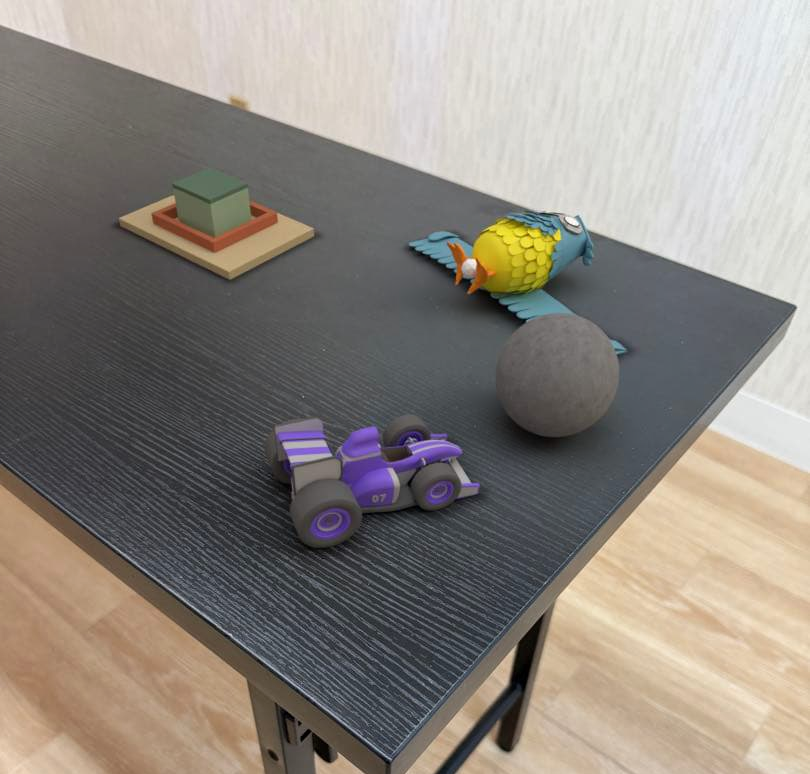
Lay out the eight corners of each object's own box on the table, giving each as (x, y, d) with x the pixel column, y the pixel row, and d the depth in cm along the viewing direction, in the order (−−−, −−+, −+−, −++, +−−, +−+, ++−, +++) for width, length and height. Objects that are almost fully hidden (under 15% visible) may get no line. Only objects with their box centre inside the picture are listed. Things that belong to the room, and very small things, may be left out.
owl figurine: (382, 175, 82) (495, 148, 89) (380, 255, 89) (486, 225, 95) (570, 297, 67) (690, 254, 74) (551, 383, 74) (663, 337, 80)
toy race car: (486, 507, 63) (496, 443, 58) (300, 556, 58) (294, 491, 54) (438, 432, 68) (444, 368, 64) (266, 472, 64) (258, 407, 60)
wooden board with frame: (120, 226, 92) (115, 207, 90) (206, 189, 99) (203, 171, 97) (229, 280, 84) (227, 260, 83) (314, 236, 91) (313, 217, 90)
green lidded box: (178, 223, 91) (171, 183, 87) (215, 206, 94) (209, 167, 90) (215, 240, 88) (209, 199, 85) (252, 223, 91) (247, 183, 88)
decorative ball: (466, 412, 70) (477, 311, 63) (550, 376, 75) (570, 277, 67) (542, 477, 65) (564, 375, 58) (628, 434, 69) (659, 334, 62)
